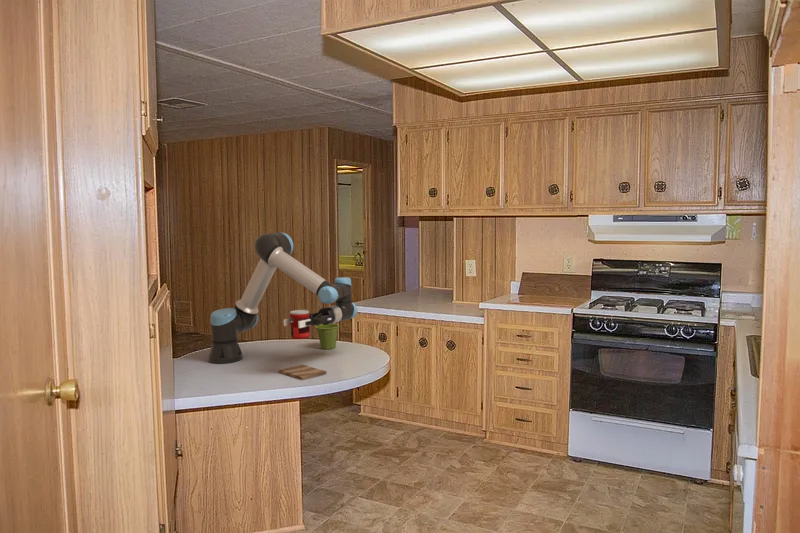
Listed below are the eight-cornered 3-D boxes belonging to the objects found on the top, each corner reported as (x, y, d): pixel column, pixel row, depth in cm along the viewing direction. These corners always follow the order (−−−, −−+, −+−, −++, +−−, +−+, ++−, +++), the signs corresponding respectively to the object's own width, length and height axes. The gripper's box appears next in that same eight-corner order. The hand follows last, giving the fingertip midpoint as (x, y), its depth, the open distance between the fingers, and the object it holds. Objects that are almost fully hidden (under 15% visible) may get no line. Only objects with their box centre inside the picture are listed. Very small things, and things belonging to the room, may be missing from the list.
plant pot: (311, 348, 302) (310, 326, 301) (328, 344, 311) (328, 322, 310) (327, 351, 294) (326, 329, 293) (345, 347, 303) (344, 325, 302)
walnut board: (278, 372, 259) (278, 369, 259) (301, 366, 267) (301, 364, 267) (302, 380, 246) (302, 377, 245) (326, 374, 254) (326, 371, 254)
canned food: (295, 335, 259) (293, 309, 258) (312, 335, 258) (311, 309, 257) (288, 339, 252) (286, 312, 251) (306, 339, 250) (305, 313, 249)
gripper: (347, 325, 263) (309, 335, 245) (312, 321, 275) (274, 330, 257) (346, 308, 262) (309, 316, 244) (312, 305, 274) (273, 312, 256)
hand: (291, 323), depth 250 cm, fingers closed on canned food, 8 cm apart
